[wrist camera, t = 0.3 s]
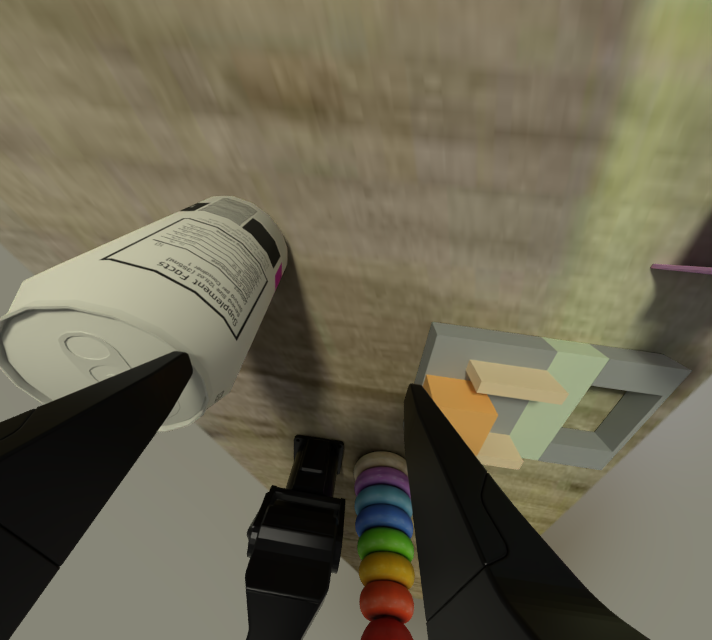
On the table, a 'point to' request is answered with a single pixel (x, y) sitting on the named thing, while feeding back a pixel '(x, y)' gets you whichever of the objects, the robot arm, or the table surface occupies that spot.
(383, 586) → the stacking toy
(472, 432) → the block
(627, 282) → the table surface
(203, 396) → the supplement can
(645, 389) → the tunnel board
